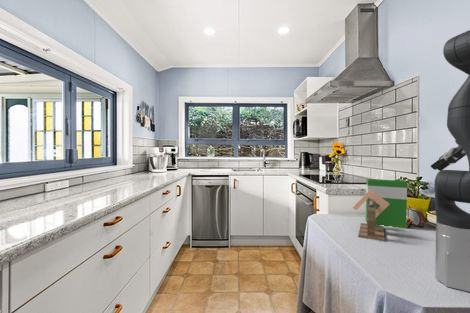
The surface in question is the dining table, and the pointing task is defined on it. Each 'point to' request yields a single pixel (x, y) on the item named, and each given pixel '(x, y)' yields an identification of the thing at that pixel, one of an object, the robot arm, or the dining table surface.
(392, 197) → the hardback book
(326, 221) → the dining table surface
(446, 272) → the robot arm
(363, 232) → the wooden rack with bar
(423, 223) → the tin
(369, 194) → the pink c-shaped hook
